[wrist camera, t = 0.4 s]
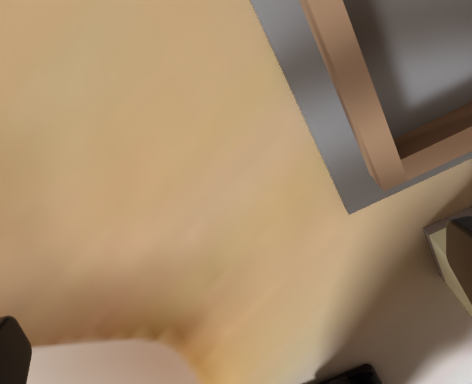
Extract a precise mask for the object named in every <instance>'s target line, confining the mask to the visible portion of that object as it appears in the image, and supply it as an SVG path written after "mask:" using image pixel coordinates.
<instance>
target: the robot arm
mask: <svg viewBox="0 0 472 384" xmlns="http://www.w3.org/2000/svg"><path fill="white" fill-rule="evenodd" d="M446 257H447V261H448V263H449V266H450V267H451V269H452V271H453V273H454V275H455V276H456V278H457V280H458V282H459V283H460V285H461V287H462V289H463V291H464V292H465V294H466V296H467V298H468V299H469V301H470V303H471V305H472V216H463V217H458V218H454V219H450V220H449V221H448V222H447V225H446ZM31 355H32V348H31V344H30V342H29V340H28V338H27V337H26V335H25V333H24V332H23V330H22V328H21V327H20V325H19V323H18V322H17V320H16V319H15V318H14V317H12V316H4V317H0V384H26V382H27V376H28V372H29V366H30V361H31ZM320 384H383V383H382V381H381V380H380V378H379V376H378V374H377V372H376V370H375V368H374V367H373V366H372V365H365V366H362V367H360V368H357V369H355V370H352V371H350V372H347V373H345V374H342V375H340V376H337V377H335V378H332V379H330V380H327V381H325V382H322V383H320Z"/></svg>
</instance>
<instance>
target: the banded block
mask: <svg viewBox="0 0 472 384" xmlns="http://www.w3.org/2000/svg"><path fill="white" fill-rule="evenodd" d="M463 216H472V207H470V208H467V209H465V210H463V211H461V212H458V213H456V214H454V215H452V216H449V217H447V218H445V219H443V220H440V221H438V222H436V223H433V224H431V225H429V226H427V227H424V228H423V230H424V233H425V235H426V238H427V241H428V244H429V246H430V249H431V252H432V255H433V257H434V260H435V263H436V266H437V268H438V271H439V274H440V276H441V277H442V279H443V280H444V281H445V283H446V284H447V285H448V287H449V288H450V289H451V291H452V292H453V293H454V294H455V296H456V297H457V298H458V300H459V301H460V302H461V304H462V305H463V306H464V308H465V309H466V310H467V312H468V313H469V314H470V316H471V317H472V305H471V303H470V301H469V299H468V298H467V296H466V294H465V292H464V291H463V289H462V287H461V285H460V283H459V282H458V280H457V278H456V276H455V275H454V273H453V271H452V269H451V267H450V266H449V263H448V261H447V257H446V225H447V222H448V221H449V220H450V219H454V218H458V217H463Z"/></svg>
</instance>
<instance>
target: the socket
mask: <svg viewBox="0 0 472 384" xmlns="http://www.w3.org/2000/svg"><path fill="white" fill-rule="evenodd" d="M250 1H251V4H252V6H253V8H254V10H255V12H256V14H257V17H258V19H259V21H260V23H261V25H262V28H263V30H264V32H265V34H266V36H267V38H268V41H269V43H270V45H271V47H272V49H273V51H274V54H275V56H276V58H277V60H278V62H279V65H280V67H281V69H282V71H283V73H284V75H285V78H286V80H287V82H288V84H289V86H290V88H291V91H292V93H293V95H294V97H295V99H296V102H297V104H298V106H299V108H300V110H301V112H302V115H303V117H304V119H305V121H306V123H307V125H308V128H309V130H310V132H311V134H312V136H313V139H314V141H315V143H316V145H317V147H318V149H319V152H320V154H321V156H322V158H323V160H324V162H325V165H326V167H327V169H328V171H329V173H330V176H331V178H332V180H333V182H334V184H335V186H336V189H337V191H338V193H339V195H340V197H341V199H342V202H343V204H344V206H345V208H346V210H347V212H348V213H349V214H352V213H354V212H356V211H358V210H360V209H362V208H365V207H367V206H369V205H371V204H373V203H375V202H378V201H380V200H382V199H384V198H386V197H388V196H391V195H393V194H395V193H397V192H399V191H401V190H404V189H406V188H408V187H410V186H412V185H414V184H417V183H419V182H421V181H423V180H425V179H427V178H430V177H432V176H434V175H436V174H438V173H440V172H443V171H445V170H447V169H449V168H451V167H453V166H456V165H458V164H460V163H462V162H464V161H466V160H469V159H471V158H472V0H250Z"/></svg>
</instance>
